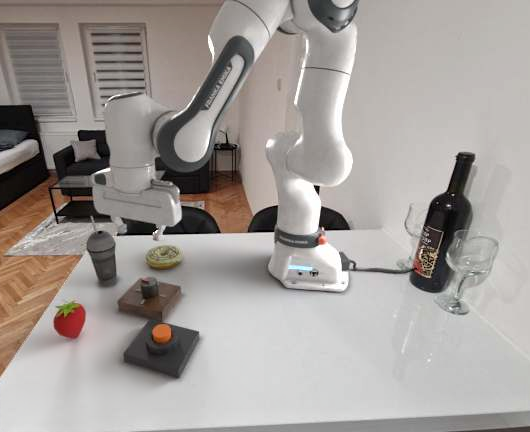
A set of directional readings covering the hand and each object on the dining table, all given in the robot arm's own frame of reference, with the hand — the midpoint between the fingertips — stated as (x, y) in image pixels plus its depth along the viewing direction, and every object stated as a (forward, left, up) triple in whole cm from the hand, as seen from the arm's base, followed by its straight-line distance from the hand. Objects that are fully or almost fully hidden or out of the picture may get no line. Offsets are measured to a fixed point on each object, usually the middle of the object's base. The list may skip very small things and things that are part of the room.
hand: (139, 236), depth 68 cm
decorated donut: (+5, -18, -19) cm, 27 cm away
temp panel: (-1, 0, -19) cm, 19 cm away
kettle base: (-11, +12, -19) cm, 25 cm away
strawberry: (+9, +15, -19) cm, 26 cm away
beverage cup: (+15, -4, -19) cm, 25 cm away
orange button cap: (-11, +12, -16) cm, 22 cm away
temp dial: (-1, 0, -16) cm, 16 cm away
